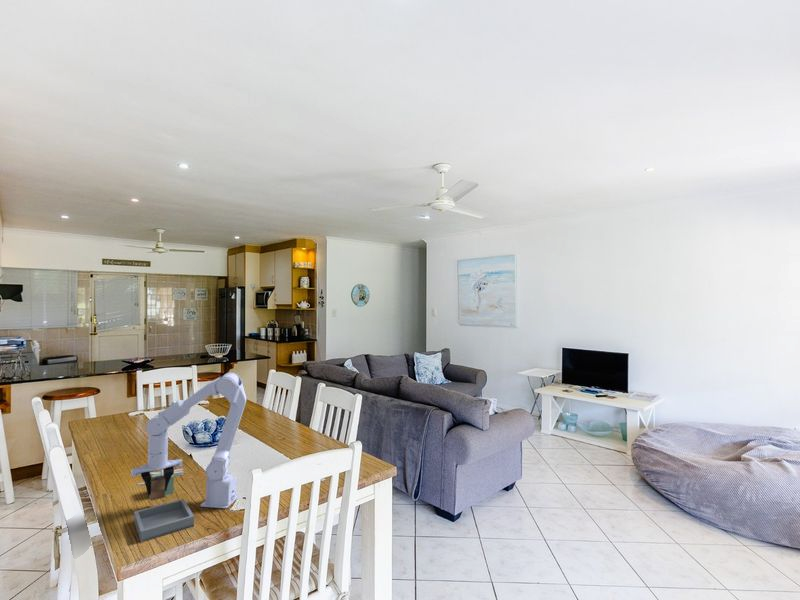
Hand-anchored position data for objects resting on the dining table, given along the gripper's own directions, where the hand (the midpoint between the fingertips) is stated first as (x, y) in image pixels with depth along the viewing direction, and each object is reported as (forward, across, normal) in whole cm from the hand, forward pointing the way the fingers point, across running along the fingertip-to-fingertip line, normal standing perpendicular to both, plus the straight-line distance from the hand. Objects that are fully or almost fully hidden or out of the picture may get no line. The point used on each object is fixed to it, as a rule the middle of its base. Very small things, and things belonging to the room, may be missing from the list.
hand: (156, 492), depth 136 cm
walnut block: (+2, 0, 0) cm, 2 cm away
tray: (+5, 0, +13) cm, 14 cm away
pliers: (+6, -6, -26) cm, 27 cm away
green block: (+5, -3, -11) cm, 12 cm away
